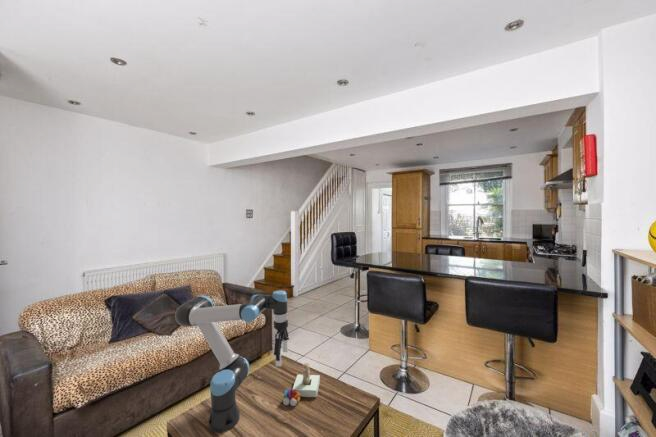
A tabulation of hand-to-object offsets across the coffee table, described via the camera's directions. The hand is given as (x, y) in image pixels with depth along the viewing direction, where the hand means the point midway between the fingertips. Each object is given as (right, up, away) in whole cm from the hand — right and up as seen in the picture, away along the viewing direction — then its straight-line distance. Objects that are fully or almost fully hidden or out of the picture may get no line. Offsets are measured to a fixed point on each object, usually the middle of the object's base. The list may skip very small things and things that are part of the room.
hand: (282, 358), depth 149 cm
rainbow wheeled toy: (+5, -27, +5) cm, 28 cm away
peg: (+12, -25, +15) cm, 32 cm away
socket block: (+12, -26, +15) cm, 32 cm away
